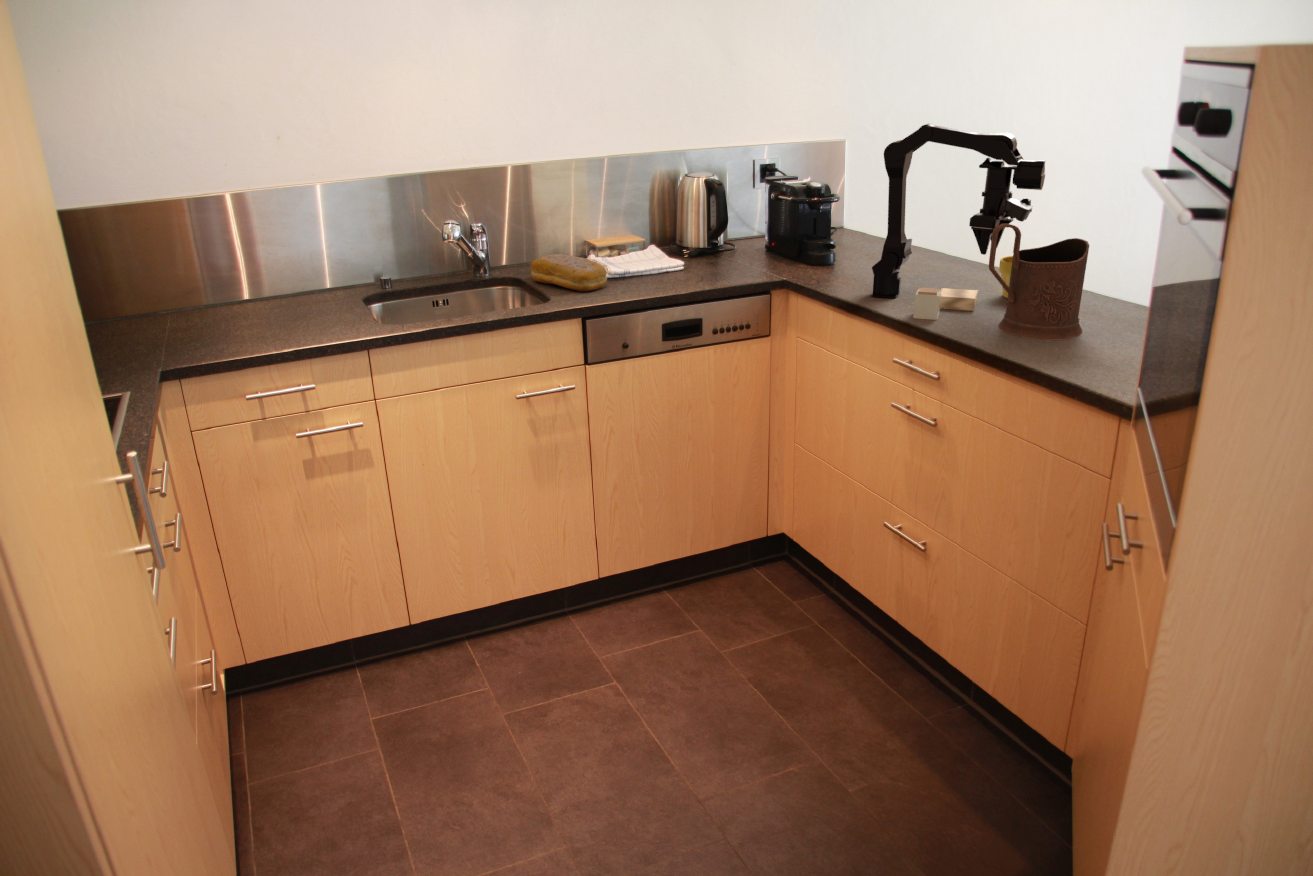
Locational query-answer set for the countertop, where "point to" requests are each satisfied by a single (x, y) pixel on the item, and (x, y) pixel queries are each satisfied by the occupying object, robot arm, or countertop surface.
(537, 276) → the bread
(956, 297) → the beech block
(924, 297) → the cream lidded box
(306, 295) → the countertop surface
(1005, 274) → the plant pot
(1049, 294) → the cup holder
